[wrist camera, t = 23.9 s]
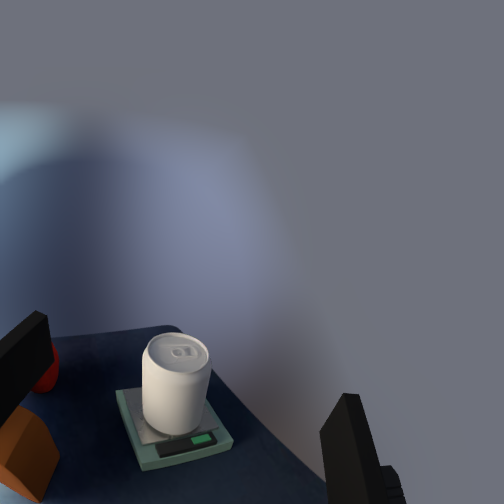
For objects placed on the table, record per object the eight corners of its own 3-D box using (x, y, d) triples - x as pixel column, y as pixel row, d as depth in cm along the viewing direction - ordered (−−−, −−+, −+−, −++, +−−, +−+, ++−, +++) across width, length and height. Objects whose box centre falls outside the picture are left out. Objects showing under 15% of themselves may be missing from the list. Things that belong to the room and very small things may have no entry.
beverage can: (136, 397, 36) (136, 332, 33) (188, 390, 41) (198, 327, 37) (152, 442, 30) (152, 380, 26) (210, 431, 34) (225, 370, 31)
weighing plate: (218, 429, 36) (219, 427, 35) (142, 446, 29) (142, 444, 29) (190, 382, 43) (190, 379, 43) (122, 392, 37) (122, 389, 37)
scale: (230, 449, 35) (235, 435, 34) (142, 471, 28) (140, 459, 27) (193, 389, 45) (195, 373, 44) (116, 400, 38) (115, 384, 36)
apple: (6, 385, 30) (-7, 347, 28) (37, 358, 39) (29, 321, 36) (43, 414, 29) (30, 377, 27) (74, 381, 38) (68, 344, 35)
